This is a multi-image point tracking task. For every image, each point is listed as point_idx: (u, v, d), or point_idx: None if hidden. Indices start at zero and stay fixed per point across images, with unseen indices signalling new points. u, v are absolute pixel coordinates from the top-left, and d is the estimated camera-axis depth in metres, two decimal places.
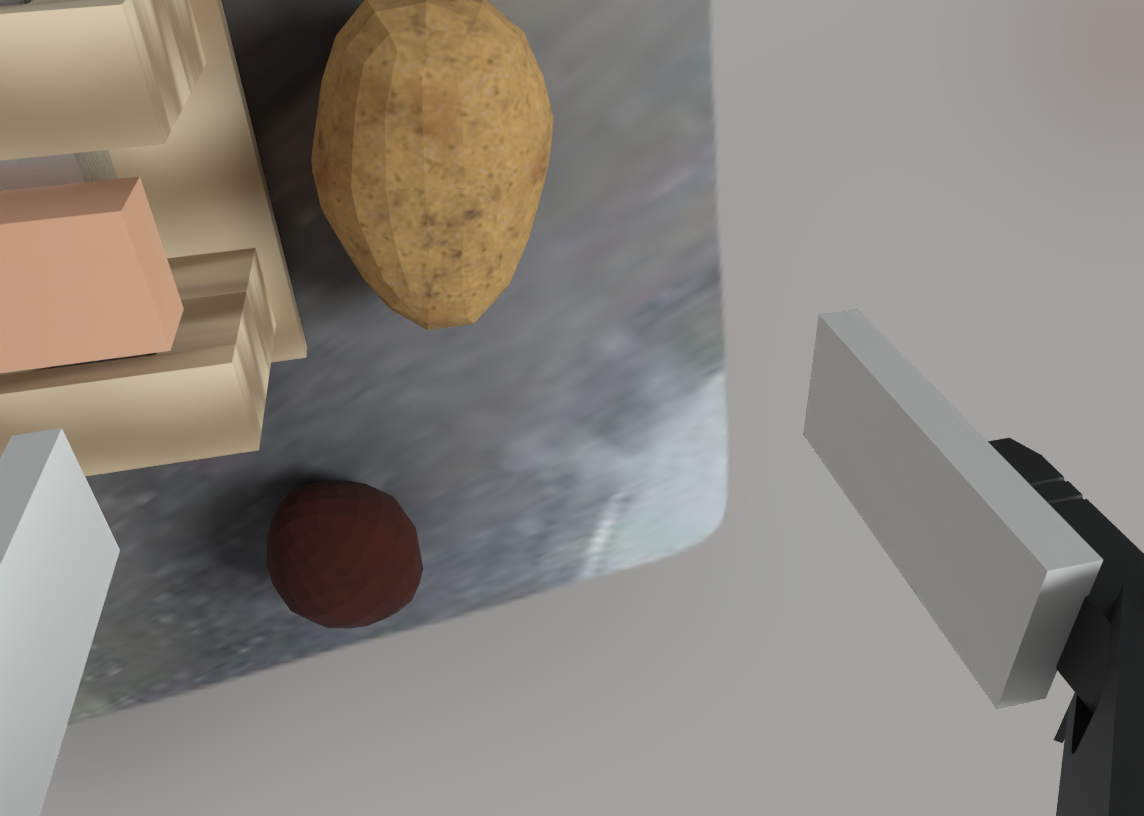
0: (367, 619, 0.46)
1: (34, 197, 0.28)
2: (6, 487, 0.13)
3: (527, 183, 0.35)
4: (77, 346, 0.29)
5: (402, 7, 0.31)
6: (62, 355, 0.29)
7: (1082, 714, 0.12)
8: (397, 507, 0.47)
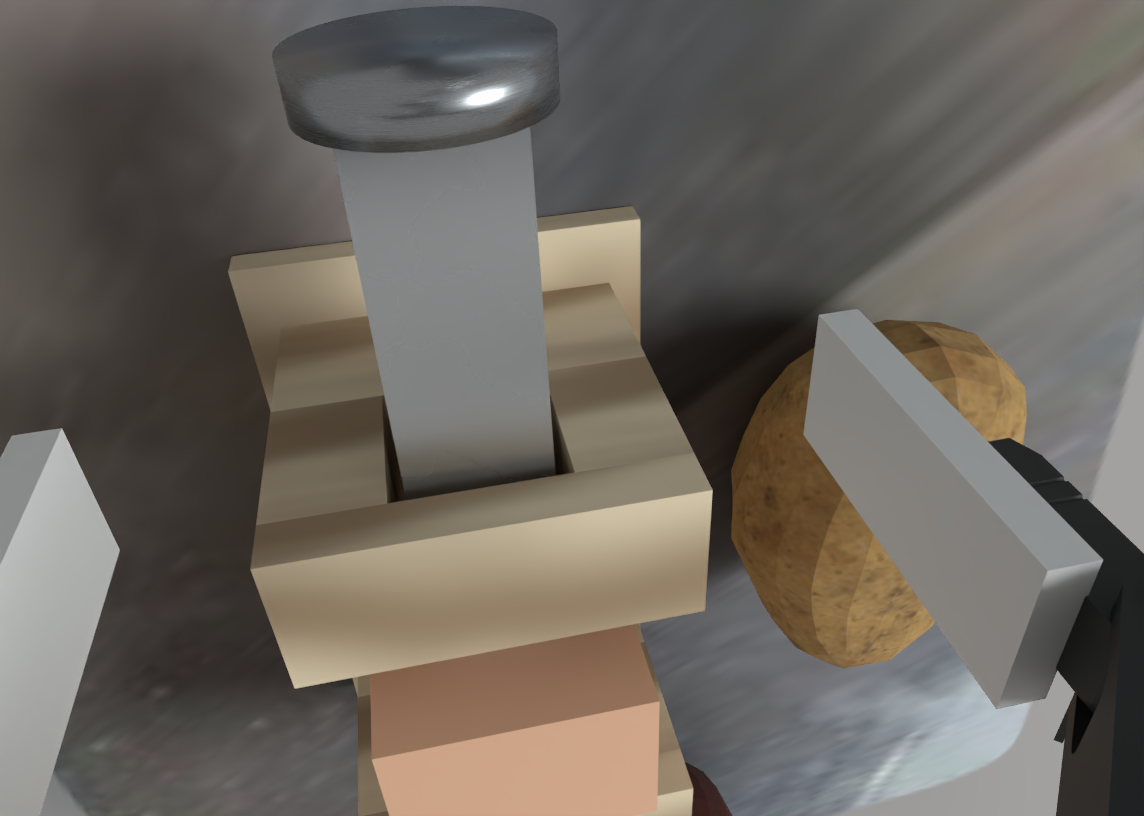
0: None
1: (525, 658, 0.23)
2: (6, 487, 0.13)
3: None
4: None
5: None
6: None
7: (1082, 714, 0.12)
8: (715, 791, 0.42)
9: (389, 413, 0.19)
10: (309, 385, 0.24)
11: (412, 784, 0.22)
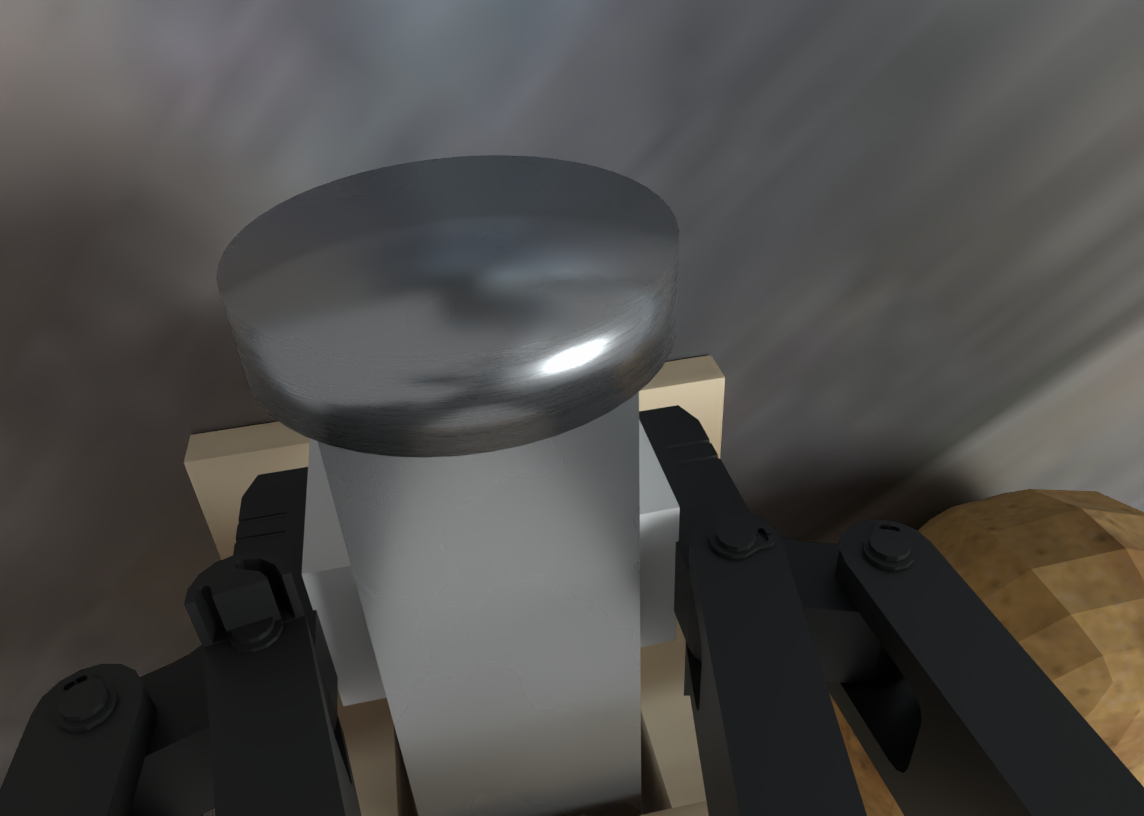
0: None
1: None
2: None
3: None
4: None
5: (1114, 606, 0.19)
6: None
7: (696, 668, 0.12)
8: None
9: (405, 757, 0.13)
10: None
11: None
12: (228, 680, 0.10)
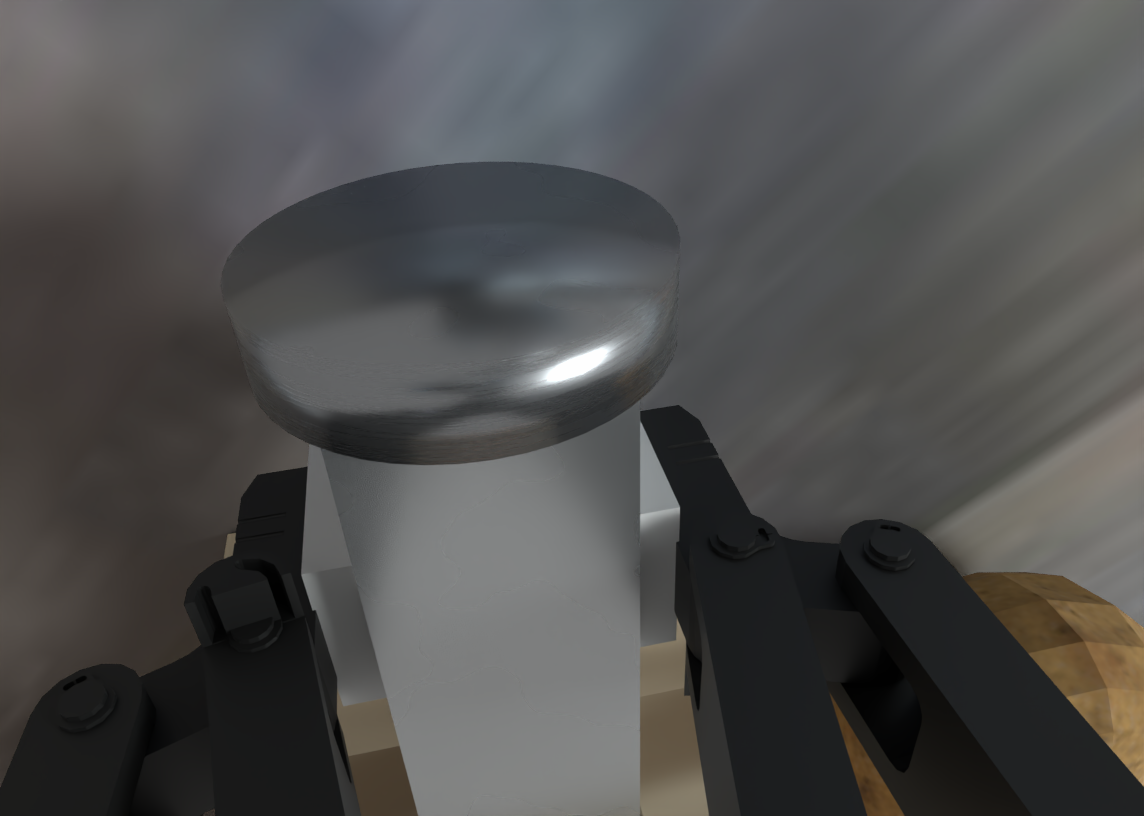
0: None
1: None
2: None
3: None
4: None
5: (1072, 697, 0.21)
6: None
7: (696, 668, 0.12)
8: None
9: (405, 760, 0.13)
10: None
11: None
12: (228, 680, 0.10)
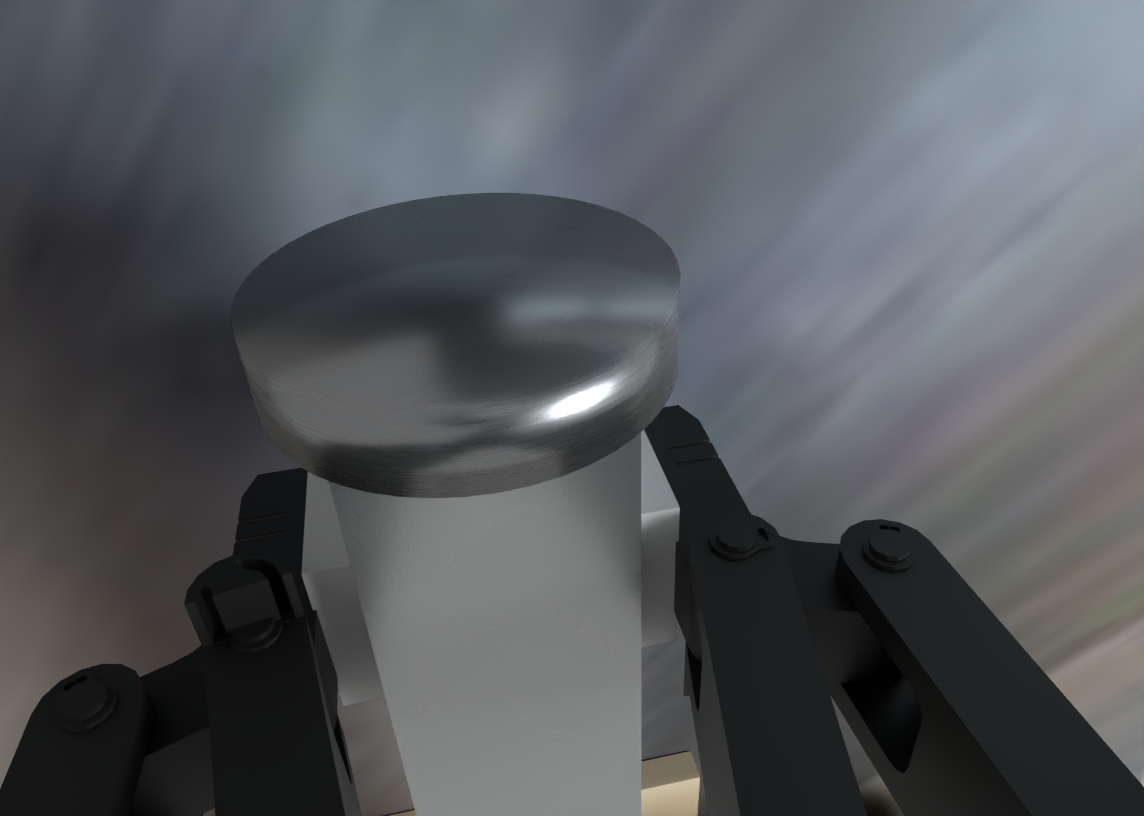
0: None
1: None
2: None
3: None
4: None
5: None
6: None
7: (696, 668, 0.12)
8: None
9: (409, 782, 0.13)
10: None
11: None
12: (228, 680, 0.10)
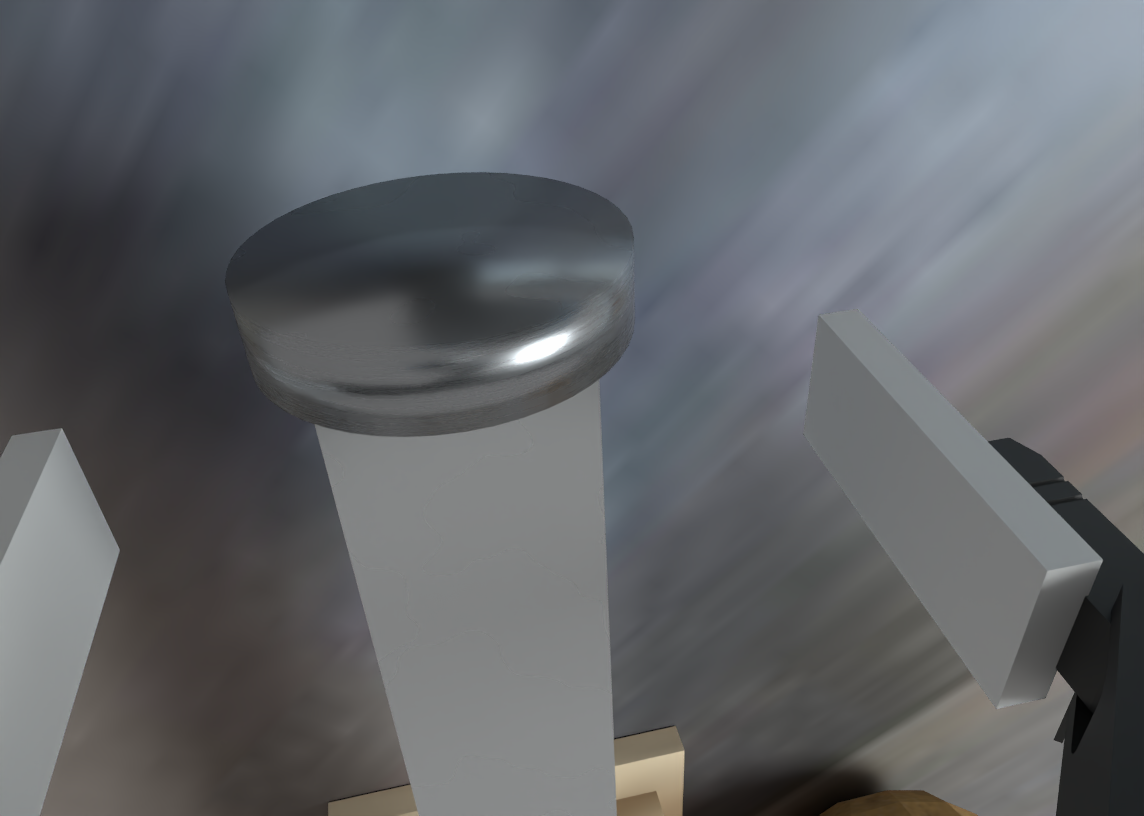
0: None
1: None
2: (7, 486, 0.13)
3: None
4: None
5: None
6: None
7: (1082, 714, 0.12)
8: None
9: (395, 720, 0.14)
10: None
11: None
12: None
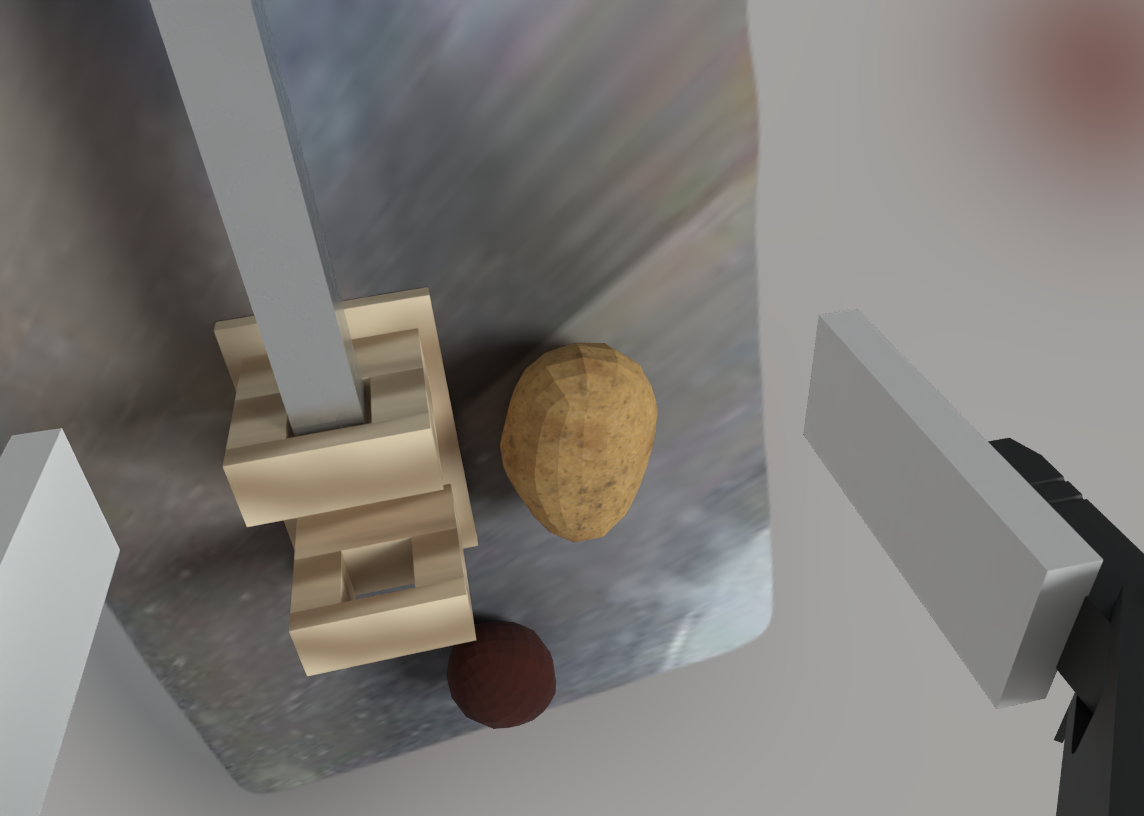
0: (521, 722, 0.65)
1: None
2: (7, 486, 0.13)
3: (643, 458, 0.54)
4: None
5: (571, 377, 0.49)
6: None
7: (1082, 714, 0.12)
8: (538, 640, 0.66)
9: (176, 77, 0.34)
10: (254, 387, 0.48)
11: None
12: None
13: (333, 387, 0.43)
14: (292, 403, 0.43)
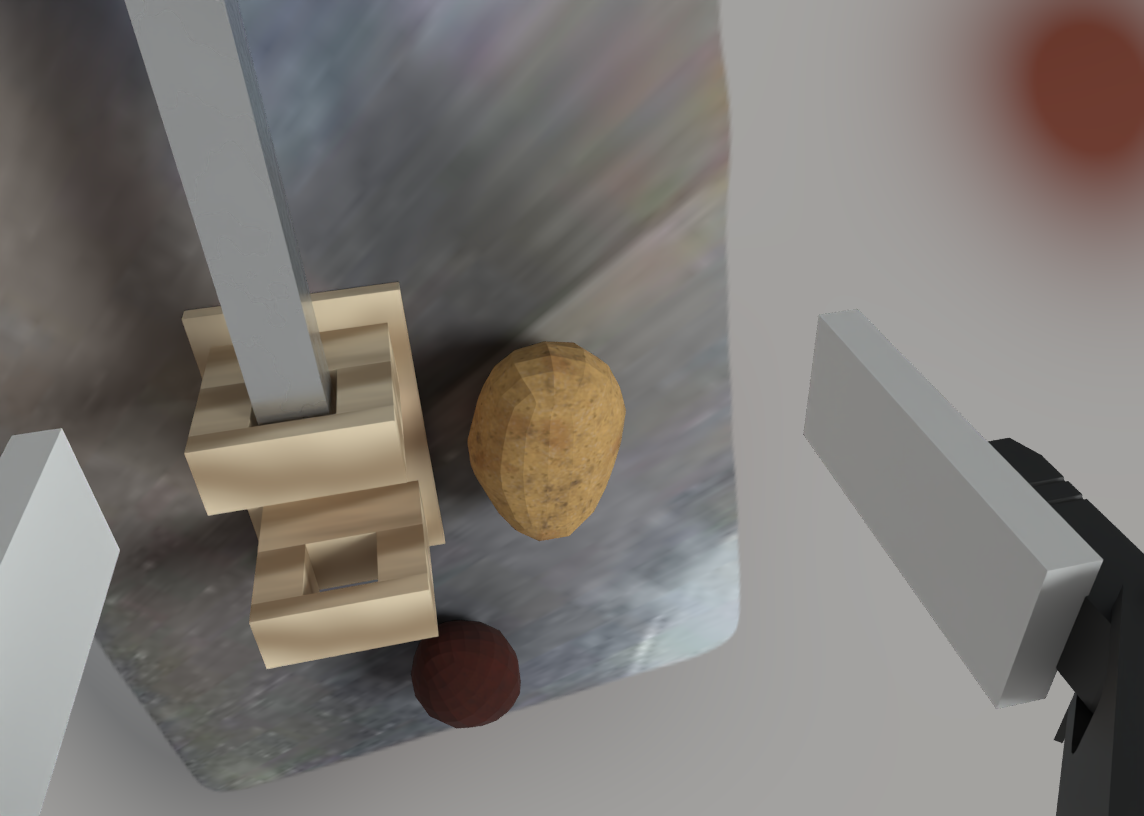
0: (485, 722, 0.65)
1: None
2: (7, 486, 0.13)
3: (610, 457, 0.54)
4: None
5: (538, 374, 0.49)
6: None
7: (1082, 714, 0.12)
8: (504, 640, 0.66)
9: (144, 60, 0.34)
10: (221, 376, 0.48)
11: None
12: None
13: (298, 377, 0.43)
14: (256, 392, 0.43)
